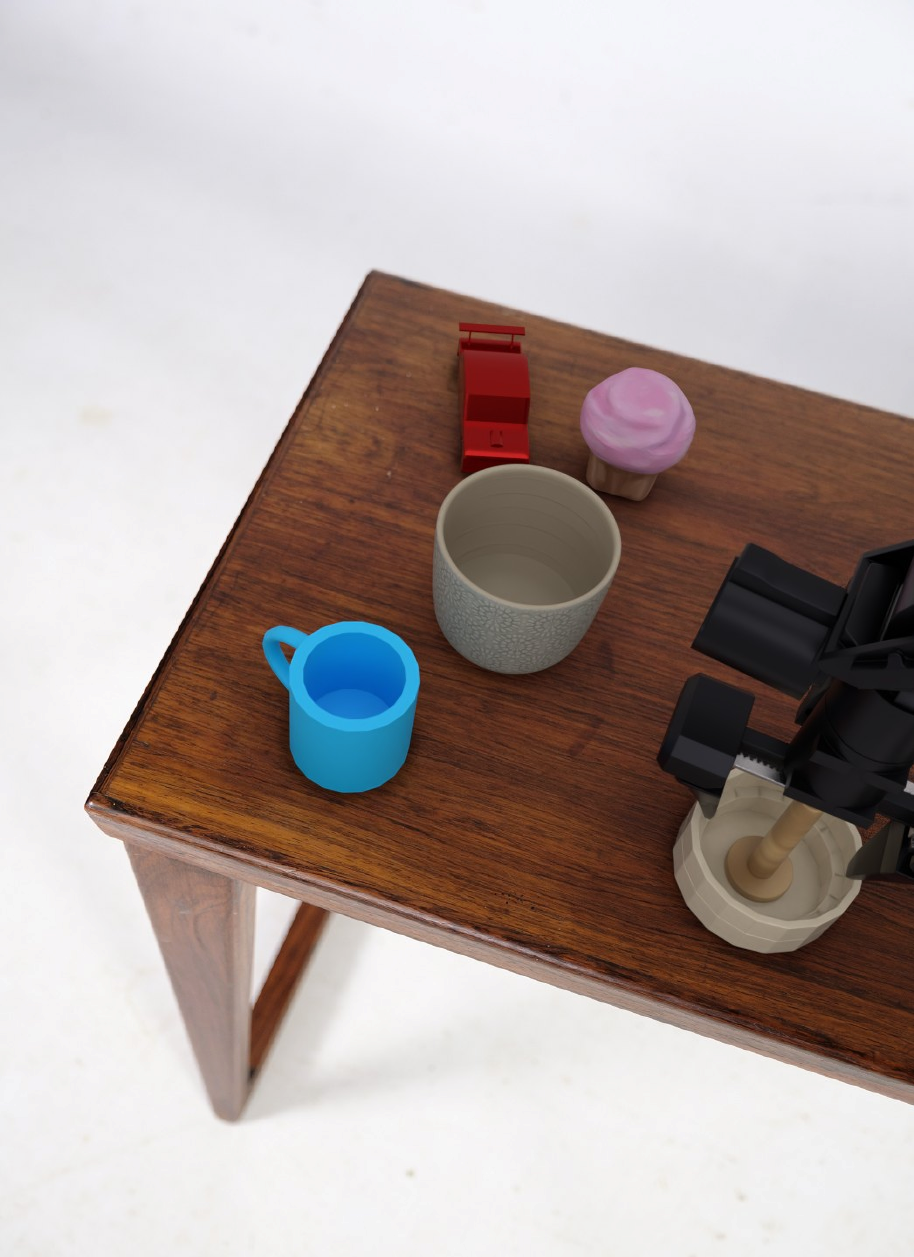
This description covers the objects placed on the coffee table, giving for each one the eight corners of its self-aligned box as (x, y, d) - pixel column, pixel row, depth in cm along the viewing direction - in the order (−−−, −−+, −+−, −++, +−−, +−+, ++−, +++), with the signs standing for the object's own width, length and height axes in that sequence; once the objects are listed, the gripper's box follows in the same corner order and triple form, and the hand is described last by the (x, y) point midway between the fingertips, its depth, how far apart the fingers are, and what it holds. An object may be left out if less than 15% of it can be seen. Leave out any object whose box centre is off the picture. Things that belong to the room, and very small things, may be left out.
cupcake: (556, 503, 95) (581, 414, 87) (575, 428, 100) (600, 337, 92) (665, 531, 95) (700, 444, 87) (678, 454, 100) (712, 365, 92)
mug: (434, 737, 82) (446, 673, 75) (352, 816, 78) (358, 756, 71) (307, 635, 85) (309, 566, 79) (223, 706, 81) (217, 639, 75)
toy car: (453, 357, 103) (460, 313, 99) (517, 362, 104) (526, 318, 100) (458, 480, 95) (465, 437, 91) (526, 483, 96) (536, 441, 92)
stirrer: (796, 856, 79) (859, 781, 70) (780, 913, 77) (844, 844, 68) (733, 829, 80) (788, 752, 71) (715, 886, 77) (770, 813, 69)
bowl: (849, 837, 81) (879, 804, 77) (814, 985, 75) (844, 958, 71) (697, 773, 83) (718, 738, 79) (649, 913, 76) (670, 883, 72)
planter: (621, 629, 89) (658, 537, 80) (514, 730, 83) (541, 643, 74) (497, 533, 93) (519, 435, 84) (386, 623, 87) (397, 528, 78)
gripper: (1071, 667, 65) (943, 795, 78) (746, 541, 68) (674, 685, 80) (1049, 837, 59) (914, 947, 72) (692, 691, 61) (623, 822, 74)
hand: (778, 841), depth 75 cm, fingers open, 9 cm apart
